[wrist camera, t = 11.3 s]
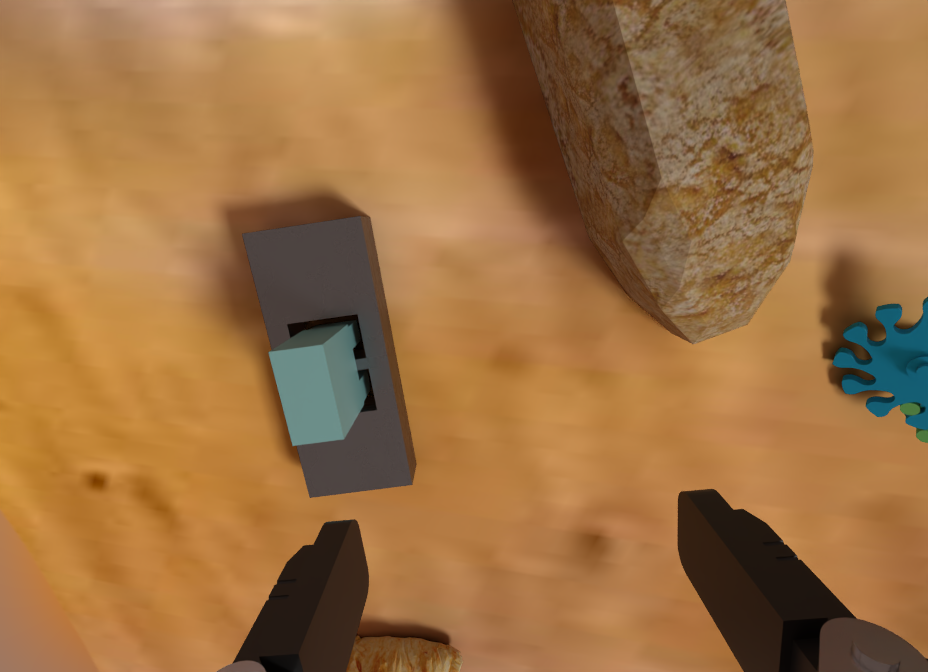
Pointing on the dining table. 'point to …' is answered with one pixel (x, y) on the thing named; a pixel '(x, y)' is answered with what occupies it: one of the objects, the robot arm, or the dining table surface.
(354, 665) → the croissant
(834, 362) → the gear
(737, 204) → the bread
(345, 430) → the teal block
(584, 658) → the dining table surface
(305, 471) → the rail
